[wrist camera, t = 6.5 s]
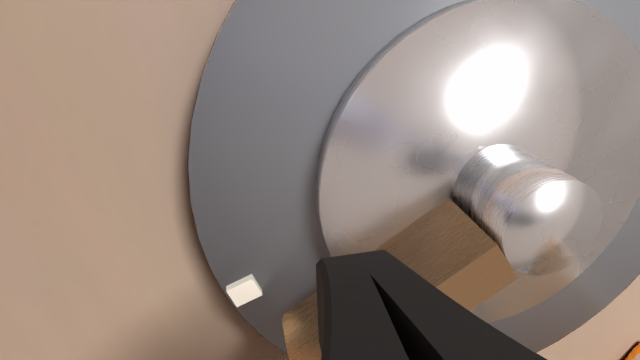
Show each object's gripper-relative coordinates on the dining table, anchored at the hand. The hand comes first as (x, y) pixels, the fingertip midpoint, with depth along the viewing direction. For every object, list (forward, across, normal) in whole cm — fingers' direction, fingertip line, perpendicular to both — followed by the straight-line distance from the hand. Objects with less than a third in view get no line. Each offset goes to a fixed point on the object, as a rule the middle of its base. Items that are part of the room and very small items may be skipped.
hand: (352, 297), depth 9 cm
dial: (+6, -5, +2) cm, 9 cm away
